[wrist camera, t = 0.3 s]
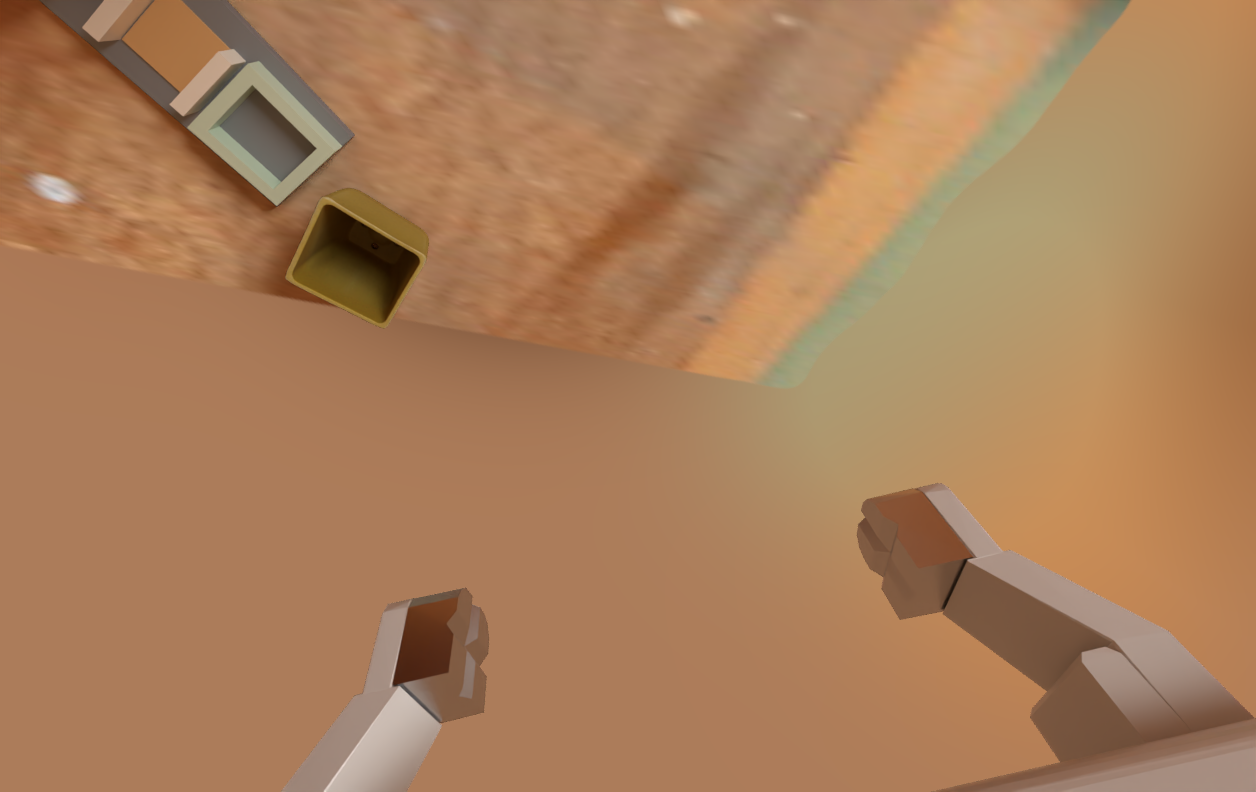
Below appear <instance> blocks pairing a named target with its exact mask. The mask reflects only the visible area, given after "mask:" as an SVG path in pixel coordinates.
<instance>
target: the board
mask: <svg viewBox="0 0 1256 792" xmlns="http://www.w3.org/2000/svg"><path fill="white" fill-rule="evenodd" d="M40 1H41V2H42V3H43V4H44V5H45V6H46V7H48V8H49V9H50V10H51V11H52V12H53V13H54V14H56V15H57V16H58V17H59V18H60V19H61V20H62V21H64V22H65V23H66V24H67V25H68V26H69V27H71V28H72V29H73V30H74V31H75V32H76V33H77V34H79V35H80V36H81V37H82V38H83V39H84V40H85V41H87V42H88V43H89V44H90V45H91V46H92V47H94V48H95V49H96V50H97V51H98V52H99V53H100V54H102V55H103V56H104V57H105V58H106V59H107V60H108V61H110V62H111V63H112V64H113V65H114V66H115V67H117V68H118V69H119V70H120V71H121V72H122V73H123V74H125V75H126V76H127V77H128V78H129V79H130V80H131V81H133V82H134V83H135V84H136V85H137V86H138V87H140V88H141V89H142V90H143V91H144V92H145V93H146V94H148V95H149V96H150V97H151V98H152V99H153V100H154V101H156V102H157V103H158V104H159V105H160V106H161V107H163V108H164V109H165V110H166V111H167V112H168V113H169V114H171V115H172V116H173V117H174V118H175V119H176V120H177V121H179V122H180V123H181V124H182V125H183V126H184V127H186V128H187V127H188V126H189V125H190V124H191V123H192V122H193V121H194V120H195V119H196V118H197V117H198V115H199V114H200V113H201V112H202V111H203V110H204V109H205V108H206V107H207V106H208V105H209V104H210V103H211V102H212V101H213V100H214V99H215V98H216V97H217V95H218V94H219V93H220V92H221V91H222V90H223V89H224V88H225V87H226V86H227V85H228V84H229V83H230V82H231V81H232V80H233V79H234V78H235V77H236V75H237V74H238V73H239V72H240V71H241V70H242V69H243V68H244V67H245V66H246V65H247V64H248V63H253V62H257V61H259V62H260V63H261V64H262V65H263V66H264V67H265V68H266V69H267V70H268V71H269V72H270V73H271V74H272V75H273V76H274V77H275V78H276V79H277V80H278V81H279V82H280V83H281V84H282V85H283V86H284V87H285V88H286V89H287V90H288V91H289V92H290V93H291V94H292V95H293V96H294V97H295V98H296V99H297V100H298V102H299V103H300V104H301V105H302V106H303V107H304V108H305V109H306V110H307V111H308V112H309V113H310V114H311V115H312V116H313V117H314V118H315V119H316V120H317V121H318V122H319V123H320V124H321V125H322V126H323V127H324V128H325V129H326V130H327V131H328V132H329V133H330V134H331V135H332V136H333V137H334V138H335V139H336V140H337V141H338V142H339V143H340V144H341V145H342V147H343V146H344V145H345V144H346V143H347V142H348V141H349V140H350V139H351V138H352V137H354V136H355V135H354V134H353V133H352V132H351V130H350V129H349V128H348V127H347V126H346V125H345V124H344V123H343V122H342V121H341V120H340V119H339V118H338V117H337V116H336V115H335V114H334V113H333V112H332V110H331V109H330V108H329V107H328V106H327V105H326V104H325V103H324V102H323V101H322V100H321V99H320V98H319V97H318V96H317V95H316V94H315V93H314V92H313V90H312V89H311V88H310V87H309V86H308V85H307V84H306V83H305V82H304V81H303V80H302V79H301V78H300V77H299V76H298V75H297V74H296V73H295V72H294V71H293V69H292V68H291V67H290V66H289V65H288V64H287V63H286V62H285V61H284V60H283V59H282V58H281V57H280V56H279V55H278V54H277V53H276V52H275V51H274V49H273V48H272V47H271V46H270V45H269V44H268V43H267V42H266V41H265V40H264V39H263V38H262V37H261V36H260V35H259V34H258V33H257V32H256V31H255V29H254V28H253V27H252V26H251V25H250V24H249V23H248V22H247V21H246V20H245V19H244V18H243V17H242V16H241V15H240V14H239V13H238V12H237V11H236V9H235V8H234V7H233V6H232V5H231V4H230V3H229V2H228V1H227V0H182V1H183V2H184V3H185V4H186V5H187V6H188V7H189V8H190V9H191V10H192V11H193V12H194V13H195V14H196V15H197V16H198V17H199V18H200V19H201V20H202V21H203V22H204V23H205V24H206V25H207V26H208V27H209V28H210V29H211V30H212V31H213V32H214V33H215V34H216V35H217V36H218V37H219V38H220V39H221V40H222V41H223V42H224V43H225V44H226V45H227V46H228V47H229V48H230V49H234V50H235V51H236V52H237V53H238V54H239V55H240V56H241V57H242V58H243V59H244V60H245V61H246V62H245V63H244V65H243V66H242V67H241V68H240V69H239V70H238V71H237V72H236V73H235V74H234V75H233V76H232V77H231V78H230V79H229V80H228V81H227V82H226V84H225V85H224V86H223V87H222V88H221V89H220V90H219V91H218V92H217V93H216V94H215V95H214V96H213V97H212V98H211V99H210V100H209V101H208V103H207V104H206V105H205V106H204V107H203V108H202V109H201V110H200V111H198V112H195V113H192V114H189V115H186V116H182V115H181V114H180V113H179V112H177V111H176V110H175V109H174V108H173V107H172V106H171V105H169V104H170V103H171V102H172V101H173V100H174V99H175V98H176V97H177V96H178V95H179V94H180V92H179V91H178V90H177V89H176V88H175V87H174V86H173V85H172V84H171V83H169V82H168V81H167V80H166V79H165V78H164V77H163V76H162V75H161V74H160V73H158V72H157V71H156V70H155V69H154V68H153V67H152V66H151V65H150V64H148V63H147V62H146V61H145V60H144V59H143V58H142V57H141V56H140V55H138V54H137V53H136V52H135V51H134V50H133V49H132V48H131V47H130V46H128V45H127V44H126V43H125V42H124V41H123V40H122V38H123V37H124V36H125V35H126V34H127V32H128V31H129V30H130V29H131V28H132V27H133V25H134V24H135V23H136V22H137V21H138V19H139V18H140V17H141V16H142V15H143V14H144V12H145V11H146V10H147V9H148V8H149V6H150V5H151V4H152V3H153V2H154V0H153V2H152V3H151V4H150V5H149V6H148V7H147V9H146V10H145V11H144V12H143V13H142V15H141V16H140V17H139V18H138V19H137V21H136V22H135V23H134V24H133V25H132V26H131V28H130V29H129V30H128V31H127V32H126V34H125V35H124V36H123V37H122V38H121V39H120V40H112V41H102V42H98V41H97V40H96V39H94V38H93V37H92V36H91V35H90V34H89V33H88V32H86V31H85V30H84V29H83V28H82V27H83V26H84V24H85V23H86V22H87V21H88V20H89V18H90V17H91V16H92V15H93V13H94V12H95V11H96V10H97V8H98V7H99V6H100V5H101V3H102V2H103V1H104V0H40ZM220 127H221V128H222V129H223V130H224V131H225V132H226V133H228V134H229V135H230V136H231V137H232V138H233V139H234V140H235V141H236V142H238V143H239V144H240V145H241V146H242V147H243V148H244V149H245V150H246V151H248V152H249V153H250V154H251V155H252V156H253V157H254V158H255V159H256V160H257V161H259V162H260V163H261V164H262V165H263V166H264V167H265V168H266V169H267V170H269V171H270V172H271V173H272V174H273V175H274V176H275V177H276V178H277V179H278V180H280V181H281V182H282V181H283V180H284V179H285V178H286V177H287V176H288V175H289V174H290V173H291V172H293V171H294V170H295V169H296V168H297V167H298V166H299V165H300V164H301V163H302V162H303V161H304V160H305V159H306V158H307V157H308V156H310V155H311V154H312V153H313V152H314V151H315V150H316V149H317V148H316V147H315V146H314V145H313V144H312V143H311V142H310V141H309V140H308V139H307V138H306V137H305V136H304V135H303V134H301V133H300V132H299V131H298V130H297V129H296V128H295V127H294V126H293V125H292V124H291V123H290V122H289V121H288V120H287V119H286V118H285V117H284V116H283V115H282V114H281V113H280V112H279V111H278V110H277V109H276V108H275V107H274V106H273V105H272V104H271V103H270V102H269V101H268V100H267V99H266V98H265V97H264V96H263V95H262V94H261V93H260V92H259V91H258V90H257V89H255V90H254V91H253V92H252V93H251V94H250V95H249V96H248V97H247V98H246V99H245V100H244V101H243V103H242V104H241V105H240V106H239V107H238V108H237V109H236V110H235V111H234V112H233V113H232V114H231V115H230V116H229V117H228V118H227V119H226V120H225V121H224V122H223V123H222V124H221V125H220ZM187 129H188V128H187ZM188 130H189V129H188ZM189 131H190V130H189ZM190 132H191V131H190ZM191 133H192V132H191ZM192 134H194V133H192ZM194 135H195V134H194ZM195 136H196V135H195ZM196 137H197V136H196ZM197 138H198V137H197ZM198 139H199V138H198ZM199 140H200V141H202V140H201V139H199ZM202 142H203V141H202ZM203 143H204V142H203ZM204 144H205V143H204ZM205 145H206V144H205ZM206 146H207V145H206ZM207 147H209V146H207ZM342 147H341V148H342ZM209 148H210V147H209ZM341 148H340V149H341ZM210 149H211V148H210ZM211 150H212V149H211ZM212 151H213V150H212ZM213 152H214V151H213ZM214 153H215V152H214ZM215 154H217V153H215ZM217 155H218V154H217ZM218 156H219V155H218ZM332 156H333V155H332ZM332 156H331V157H332ZM219 157H220V156H219ZM331 157H330V158H331ZM220 158H221V157H220ZM330 158H329V159H330ZM221 159H222V158H221ZM329 159H328V160H329ZM222 160H223V159H222ZM328 160H327V161H328ZM223 161H225V160H223ZM225 162H226V161H225ZM226 163H227V162H226ZM227 164H228V163H227ZM228 165H229V164H228ZM229 166H230V165H229ZM230 167H232V166H230ZM232 168H233V167H232ZM319 168H320V167H319ZM319 168H318V169H319ZM233 169H234V168H233ZM318 169H317V170H318ZM234 170H235V169H234ZM317 170H316V171H317ZM235 171H236V170H235ZM316 171H315V172H316ZM236 172H237V171H236ZM315 172H314V173H315ZM237 173H238V172H237ZM238 174H240V173H238ZM240 175H241V174H240ZM241 176H242V175H241ZM242 177H243V176H242ZM243 178H244V177H243ZM244 179H245V178H244ZM245 180H246V179H245ZM306 180H307V179H306ZM306 180H305V181H306ZM246 181H248V180H246ZM305 181H304V182H305ZM248 182H249V181H248ZM304 182H303V183H304ZM249 183H250V182H249ZM303 183H302V184H303ZM250 184H251V183H250ZM302 184H301V185H302ZM251 185H252V184H251ZM252 186H253V185H252ZM253 187H254V186H253ZM254 188H256V187H254ZM256 189H257V188H256ZM257 190H258V189H257ZM258 191H259V190H258ZM259 192H260V191H259ZM293 192H294V191H293ZM293 192H292V193H293ZM260 193H261V192H260ZM292 193H291V194H292ZM261 194H263V193H261ZM291 194H290V195H291ZM263 195H264V194H263ZM290 195H289V196H290ZM264 196H265V195H264ZM289 196H288V197H289ZM265 197H266V196H265ZM266 198H267V197H266ZM267 199H268V198H267ZM268 200H269V199H268ZM269 201H271V200H269ZM283 201H284V200H283ZM283 201H282V202H283ZM271 202H272V201H271ZM282 202H281V203H282ZM272 203H273V202H272ZM281 203H280V204H281ZM273 204H274V203H273ZM280 204H278V205H280ZM274 205H275V204H274ZM278 205H277V206H278ZM275 206H276V205H275ZM277 206H276V207H277Z"/></svg>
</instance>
